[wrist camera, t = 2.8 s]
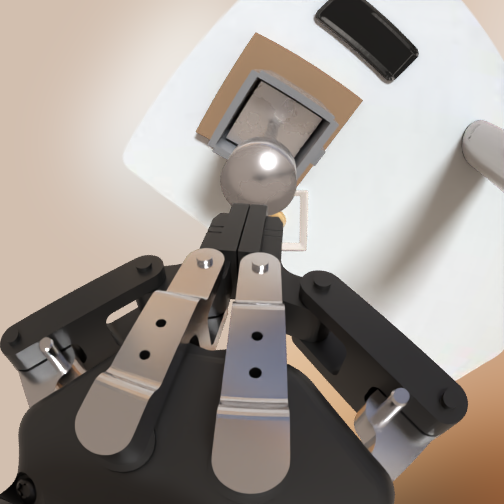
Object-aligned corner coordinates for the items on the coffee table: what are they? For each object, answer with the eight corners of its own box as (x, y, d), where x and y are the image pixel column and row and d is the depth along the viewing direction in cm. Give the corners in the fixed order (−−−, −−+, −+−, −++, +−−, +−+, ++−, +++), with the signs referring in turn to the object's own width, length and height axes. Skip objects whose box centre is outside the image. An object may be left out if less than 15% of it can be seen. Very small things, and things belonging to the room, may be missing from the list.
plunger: (321, 118, 28) (351, 168, 15) (283, 170, 33) (277, 257, 19) (261, 80, 27) (233, 93, 13) (226, 136, 31) (175, 200, 18)
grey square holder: (360, 99, 36) (394, 116, 24) (294, 185, 47) (295, 238, 34) (256, 33, 33) (239, 15, 20) (198, 129, 43) (159, 160, 30)
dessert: (306, 247, 54) (306, 263, 50) (242, 246, 56) (238, 261, 52) (307, 187, 47) (309, 200, 43) (236, 188, 49) (231, 200, 45)
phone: (391, 83, 33) (313, 15, 29) (388, 82, 34) (312, 16, 30) (421, 52, 29) (345, -16, 25) (418, 53, 30) (344, -14, 26)
